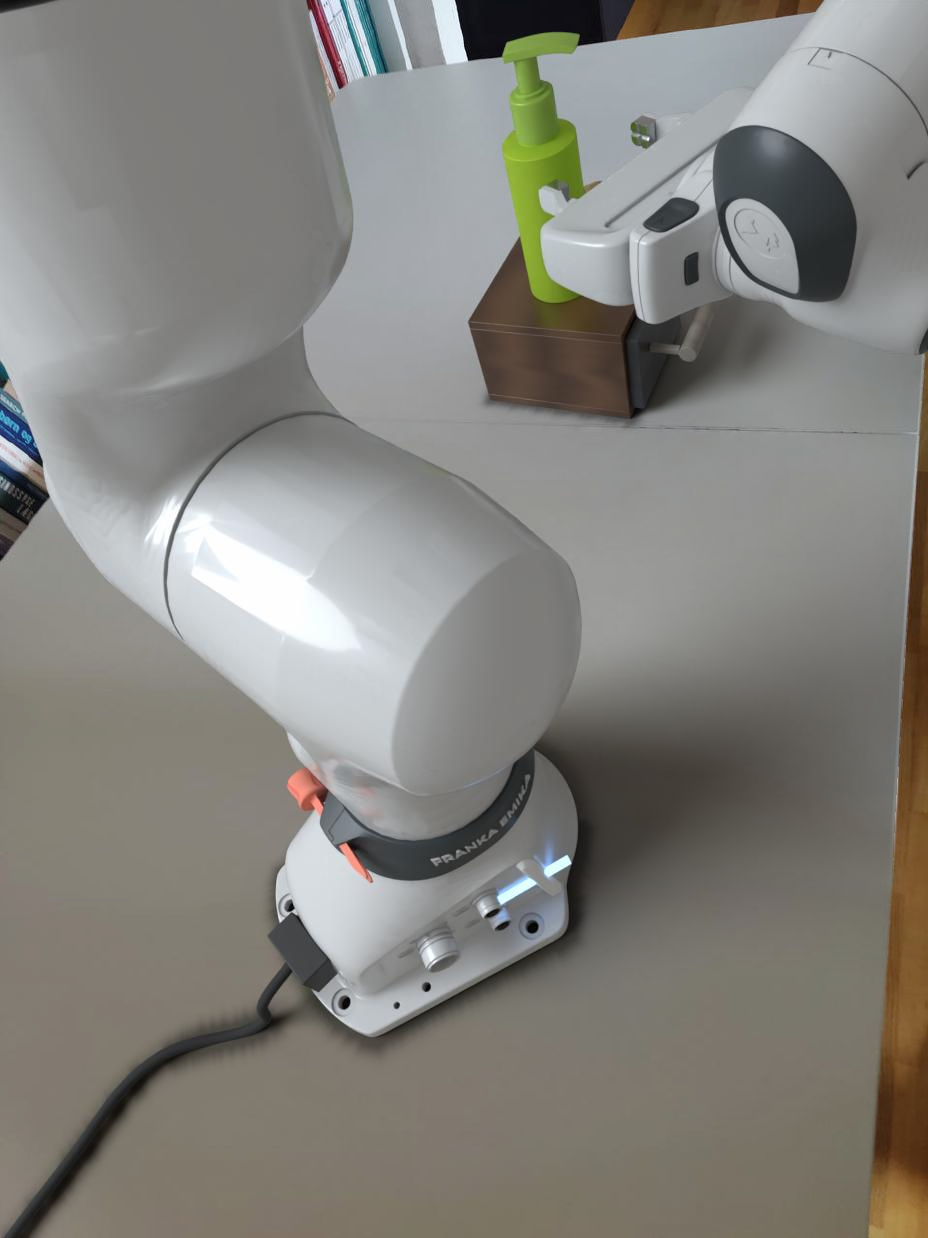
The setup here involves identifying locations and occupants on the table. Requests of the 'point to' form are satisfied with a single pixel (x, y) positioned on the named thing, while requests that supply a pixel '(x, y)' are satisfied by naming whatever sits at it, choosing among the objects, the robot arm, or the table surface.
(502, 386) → the cabinet
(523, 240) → the soap dispenser
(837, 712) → the table surface
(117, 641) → the table surface
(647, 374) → the drawer
